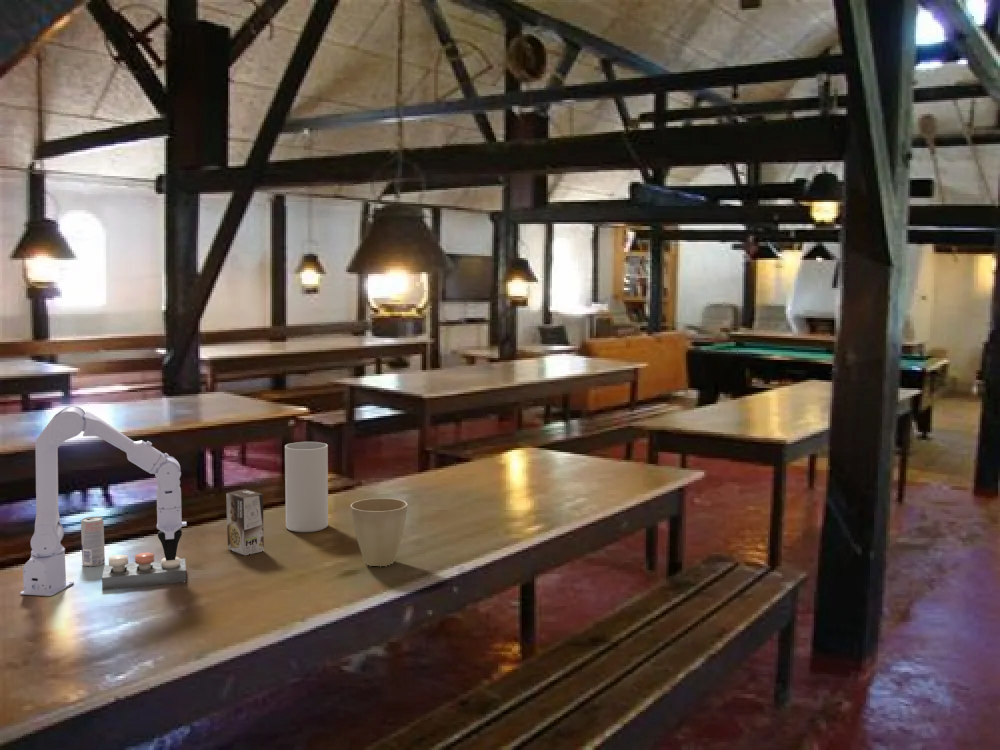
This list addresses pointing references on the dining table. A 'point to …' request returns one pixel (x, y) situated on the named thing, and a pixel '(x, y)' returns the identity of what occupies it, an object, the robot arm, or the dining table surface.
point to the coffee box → (245, 522)
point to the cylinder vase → (306, 486)
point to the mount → (142, 575)
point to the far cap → (170, 563)
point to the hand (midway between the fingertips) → (170, 559)
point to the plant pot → (379, 528)
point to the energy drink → (92, 541)
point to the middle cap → (144, 560)
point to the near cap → (118, 562)
